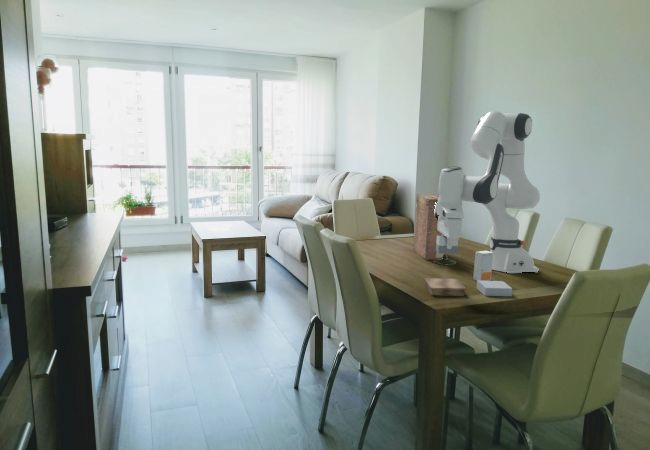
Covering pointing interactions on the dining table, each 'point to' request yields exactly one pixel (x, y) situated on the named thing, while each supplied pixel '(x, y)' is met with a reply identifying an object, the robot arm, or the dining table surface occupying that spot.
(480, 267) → the skincare box
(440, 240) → the block
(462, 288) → the tan flat square slab
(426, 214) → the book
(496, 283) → the grey stand
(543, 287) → the dining table surface
